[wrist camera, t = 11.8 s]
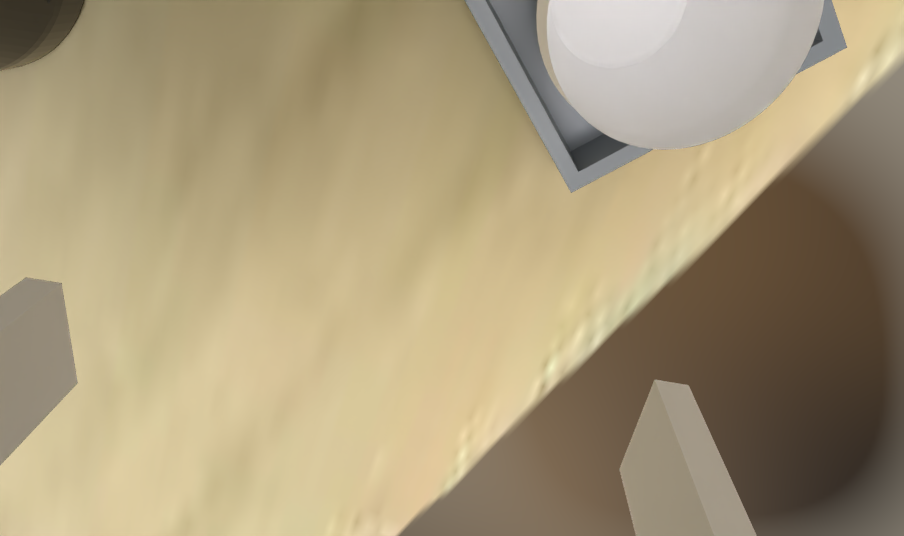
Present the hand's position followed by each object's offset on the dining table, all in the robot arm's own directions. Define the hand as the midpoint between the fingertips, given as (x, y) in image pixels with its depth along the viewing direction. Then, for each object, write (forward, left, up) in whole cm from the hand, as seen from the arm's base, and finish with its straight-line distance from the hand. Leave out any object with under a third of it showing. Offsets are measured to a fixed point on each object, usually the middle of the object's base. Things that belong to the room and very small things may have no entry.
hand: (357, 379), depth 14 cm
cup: (-1, +11, -23) cm, 25 cm away
